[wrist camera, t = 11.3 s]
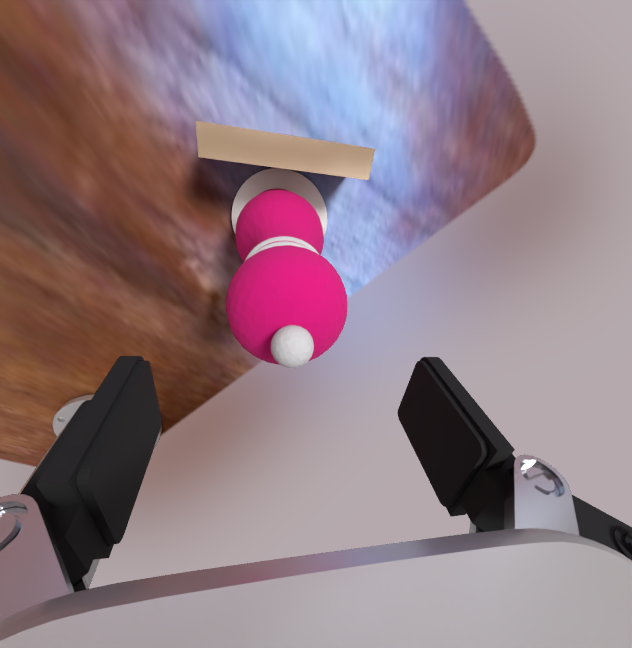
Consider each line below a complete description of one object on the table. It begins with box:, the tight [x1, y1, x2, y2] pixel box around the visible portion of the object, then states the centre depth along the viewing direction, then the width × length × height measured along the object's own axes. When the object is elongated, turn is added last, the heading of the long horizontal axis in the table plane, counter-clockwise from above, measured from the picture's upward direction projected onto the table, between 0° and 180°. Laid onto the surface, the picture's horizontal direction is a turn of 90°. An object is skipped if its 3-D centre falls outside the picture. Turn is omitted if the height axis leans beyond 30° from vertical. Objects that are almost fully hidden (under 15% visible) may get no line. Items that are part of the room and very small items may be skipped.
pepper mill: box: [226, 188, 347, 368], centre depth 20 cm, size 7×7×20 cm
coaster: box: [232, 168, 327, 235], centre depth 28 cm, size 9×9×1 cm
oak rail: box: [196, 121, 375, 180], centre depth 23 cm, size 2×12×6 cm, turn 82°
